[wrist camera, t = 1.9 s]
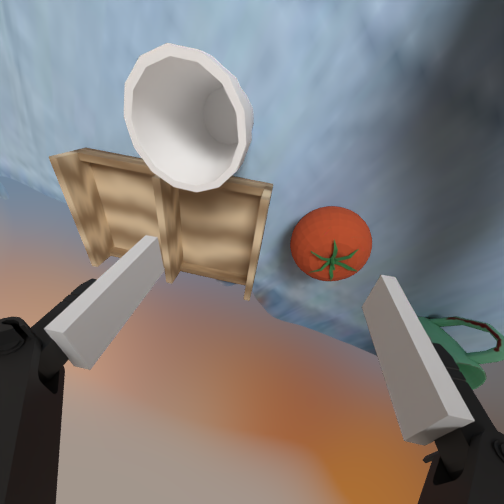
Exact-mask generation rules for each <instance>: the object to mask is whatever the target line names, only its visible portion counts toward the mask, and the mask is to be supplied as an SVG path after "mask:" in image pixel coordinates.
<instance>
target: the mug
mask: <svg viewBox="0 0 504 504" xmlns="http://www.w3.org/2000/svg"><path fill="white" fill-rule="evenodd" d="M418 319H419V321H420V323H421V325H422V326H423V328H424V330H425V332H426V334H427V335H428V337H429V339H430V341H431V342H433V343H438V344H441V345H442V346H443V347H444V348H445V349H446V350H447V352H448V353H449V354H450V355H451V356H452V357H453V359H454V360H455V362H456V364H457V365H458V367H459V371H461V372H462V374H463V375H464V377H465V379H466V382H467V383H468V384H469V385H470V387H471V389H472V390H473V389H476V388H478V387H479V386H481V385H482V384H483V383H484V382H485V380H486V373H485V372H484V371H483V369H482V368H481V366H480V365H479V364H484V363H492V362H498V361H501V360H504V336H503V335H502V334H500V333H499V332H498V331H497V330H496V329H495V328H493V327H492V326H491V325H490V324H488V323H483V322H479V321H474V320H469V319H465V318H460V317H456V316H455V317H445V318H436V319H428V318H425V317H418ZM455 325H465V326H469V327H472V328H476V329H479V330H482V331H486V332H489V333H490V334H491V335H492V336H493V337H494V338H495V339H496V340H497V345H496V347H494V348H491V349H489V350H486V351H480V352H472V353H466V352H465V351H464V350H463V348H462V347H461V346H460V345H459V344H458V343H457V342H456V341H455V340H454V339H453V338H452V337H451V336H449V335H448V334H447V333H446V332H445V331H444V330H443V329H441V328H440V327H444V326H455Z"/></svg>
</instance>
